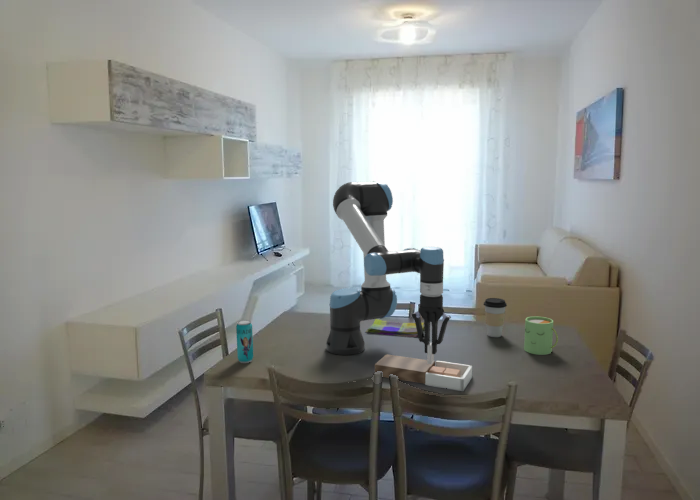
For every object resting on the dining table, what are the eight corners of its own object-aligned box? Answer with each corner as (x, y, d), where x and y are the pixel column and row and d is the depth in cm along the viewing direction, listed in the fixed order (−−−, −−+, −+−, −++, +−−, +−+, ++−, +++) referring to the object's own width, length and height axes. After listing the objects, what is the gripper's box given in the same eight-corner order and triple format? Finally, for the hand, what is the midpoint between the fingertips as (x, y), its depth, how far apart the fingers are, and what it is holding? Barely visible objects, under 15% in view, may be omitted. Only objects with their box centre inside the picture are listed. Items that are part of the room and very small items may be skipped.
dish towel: (375, 323, 253) (375, 317, 252) (428, 327, 246) (428, 321, 245) (364, 334, 236) (364, 327, 236) (421, 339, 229) (421, 332, 229)
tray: (425, 385, 181) (425, 373, 180) (436, 371, 192) (436, 360, 192) (463, 391, 175) (463, 379, 175) (472, 376, 187) (472, 365, 186)
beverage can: (240, 365, 200) (238, 325, 198) (235, 360, 205) (234, 321, 203) (255, 362, 203) (254, 322, 200) (250, 357, 208) (249, 318, 206)
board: (374, 375, 189) (374, 364, 188) (386, 364, 199) (386, 354, 198) (425, 383, 182) (425, 372, 181) (434, 372, 191) (435, 361, 191)
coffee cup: (506, 339, 226) (507, 303, 224) (482, 337, 228) (483, 302, 226) (504, 332, 235) (506, 297, 233) (482, 331, 237) (483, 297, 235)
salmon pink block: (428, 379, 184) (428, 370, 184) (432, 374, 188) (432, 366, 188) (442, 381, 182) (442, 372, 182) (445, 376, 186) (445, 367, 186)
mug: (519, 350, 212) (520, 320, 210) (531, 344, 220) (532, 314, 218) (551, 358, 204) (552, 327, 202) (562, 351, 211) (564, 320, 209)
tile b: (456, 374, 180) (456, 383, 180) (460, 369, 184) (460, 378, 185) (443, 372, 182) (443, 381, 182) (446, 367, 186) (446, 376, 186)
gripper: (408, 294, 181) (408, 363, 185) (447, 298, 176) (446, 369, 180) (416, 290, 188) (415, 356, 192) (453, 293, 183) (452, 361, 186)
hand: (430, 362), depth 186 cm, fingers closed
